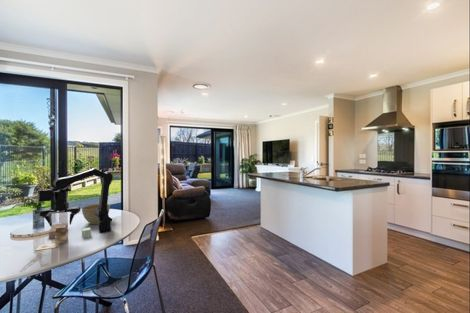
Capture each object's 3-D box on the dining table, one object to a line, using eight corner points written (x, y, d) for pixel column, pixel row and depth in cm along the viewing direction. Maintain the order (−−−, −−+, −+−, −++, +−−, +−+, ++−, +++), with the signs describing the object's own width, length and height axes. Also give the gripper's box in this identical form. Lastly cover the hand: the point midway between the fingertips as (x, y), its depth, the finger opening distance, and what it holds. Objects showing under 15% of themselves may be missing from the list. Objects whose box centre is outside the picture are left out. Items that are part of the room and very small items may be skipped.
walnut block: (66, 232, 138) (66, 225, 137) (64, 234, 134) (64, 227, 133) (57, 233, 136) (57, 226, 136) (55, 236, 132) (55, 228, 132)
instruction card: (59, 243, 132) (59, 242, 132) (55, 247, 126) (55, 247, 126) (39, 245, 128) (39, 245, 128) (35, 250, 122) (35, 250, 122)
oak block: (67, 239, 138) (67, 232, 138) (65, 242, 134) (65, 235, 133) (57, 240, 136) (57, 233, 136) (55, 243, 131) (54, 236, 131)
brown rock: (65, 236, 143) (65, 229, 143) (48, 239, 139) (48, 231, 138) (67, 228, 157) (67, 222, 157) (52, 231, 153) (52, 224, 153)
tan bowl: (115, 219, 178) (115, 204, 177) (99, 227, 160) (99, 210, 159) (93, 218, 180) (93, 203, 179) (75, 226, 162) (75, 209, 161)
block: (90, 234, 146) (89, 227, 146) (91, 236, 143) (90, 229, 143) (81, 236, 144) (81, 229, 143) (82, 238, 140) (82, 231, 140)
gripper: (82, 195, 145) (82, 219, 146) (45, 198, 137) (46, 223, 138) (78, 199, 135) (78, 225, 135) (38, 202, 127) (39, 229, 128)
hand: (60, 225), depth 134 cm, fingers open, 9 cm apart
